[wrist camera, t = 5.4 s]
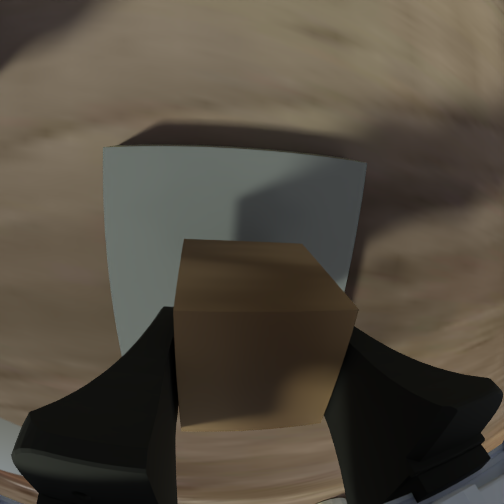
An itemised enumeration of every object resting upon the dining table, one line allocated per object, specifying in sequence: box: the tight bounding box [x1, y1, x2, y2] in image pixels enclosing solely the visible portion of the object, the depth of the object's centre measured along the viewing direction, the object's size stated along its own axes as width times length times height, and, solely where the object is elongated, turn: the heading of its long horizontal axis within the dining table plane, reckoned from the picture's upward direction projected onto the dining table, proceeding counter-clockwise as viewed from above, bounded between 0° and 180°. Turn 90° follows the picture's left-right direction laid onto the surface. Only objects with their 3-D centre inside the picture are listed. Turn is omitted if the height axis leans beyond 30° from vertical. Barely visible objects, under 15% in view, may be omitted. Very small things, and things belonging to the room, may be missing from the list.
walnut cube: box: [173, 239, 359, 432], centre depth 10 cm, size 4×4×5 cm
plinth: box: [103, 144, 367, 356], centre depth 16 cm, size 12×12×2 cm
